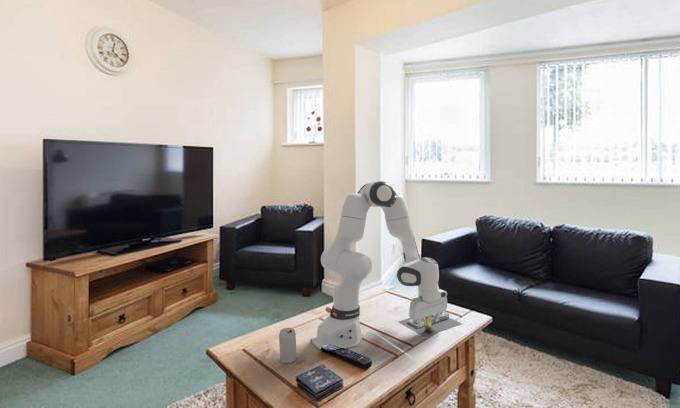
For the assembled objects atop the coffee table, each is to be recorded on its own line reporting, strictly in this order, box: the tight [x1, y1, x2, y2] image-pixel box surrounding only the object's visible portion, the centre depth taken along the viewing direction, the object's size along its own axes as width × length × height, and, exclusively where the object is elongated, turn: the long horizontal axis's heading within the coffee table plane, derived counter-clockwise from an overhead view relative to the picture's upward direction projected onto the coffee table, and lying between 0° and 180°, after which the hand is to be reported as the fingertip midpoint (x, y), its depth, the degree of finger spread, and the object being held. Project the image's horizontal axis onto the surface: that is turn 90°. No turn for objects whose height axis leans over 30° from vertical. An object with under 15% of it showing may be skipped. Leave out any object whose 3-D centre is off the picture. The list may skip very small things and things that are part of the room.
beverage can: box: [278, 327, 297, 364], centre depth 140 cm, size 6×6×12 cm
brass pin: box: [425, 315, 432, 333], centre depth 161 cm, size 3×3×8 cm
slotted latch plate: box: [408, 311, 450, 329], centre depth 172 cm, size 20×7×3 cm, turn 120°
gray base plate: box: [397, 317, 463, 338], centre depth 170 cm, size 24×18×1 cm
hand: (428, 323), depth 161 cm, fingers open, 8 cm apart
